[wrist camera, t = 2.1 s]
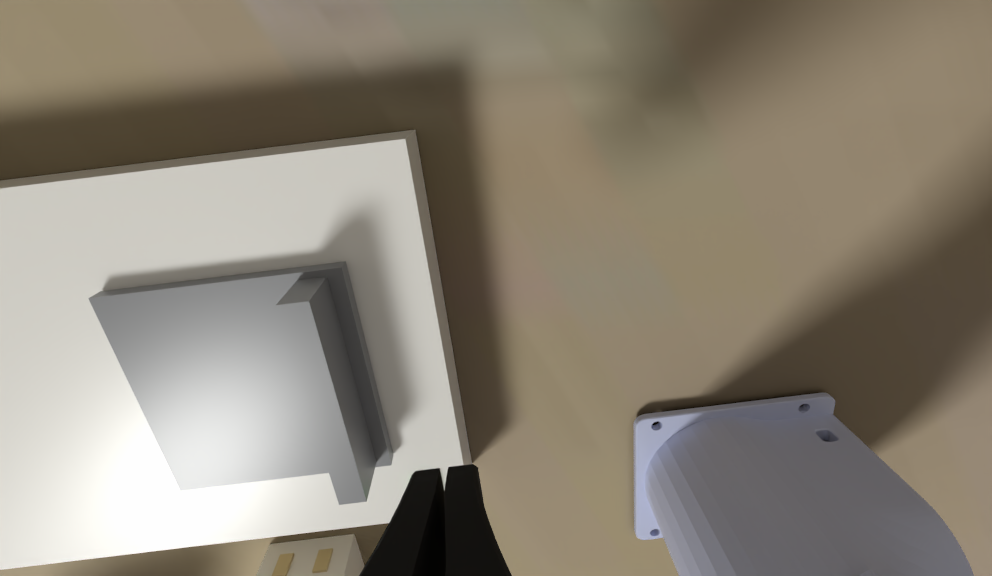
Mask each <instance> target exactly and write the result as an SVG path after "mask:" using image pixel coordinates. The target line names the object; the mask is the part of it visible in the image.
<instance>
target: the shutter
mask: <svg viewBox="0 0 992 576" xmlns="http://www.w3.org/2000/svg"><path fill="white" fill-rule="evenodd" d="M88 299H89V301H90V303H91V305H92V307H93V309H94V311H95V314H96V316H97V318H98V320H99V322H100V324H101V326H102V328H103V330H104V332H105V334H106V336H107V339H108V341H109V343H110V345H111V347H112V349H113V351H114V353H115V355H116V357H117V359H118V361H119V364H120V366H121V368H122V370H123V372H124V374H125V376H126V378H127V380H128V382H129V384H130V386H131V389H132V391H133V393H134V395H135V397H136V399H137V401H138V403H139V405H140V407H141V409H142V411H143V414H144V416H145V418H146V420H147V422H148V424H149V426H150V428H151V430H152V432H153V434H154V436H155V439H156V441H157V443H158V445H159V447H160V449H161V451H162V453H163V455H164V457H165V459H166V461H167V464H168V466H169V468H170V470H171V472H172V474H173V476H174V478H175V480H176V482H177V484H178V486H179V489H180V491H182V490H191V489H199V488H207V487H216V486H224V485H232V484H241V483H249V482H257V481H265V480H274V479H282V478H290V477H299V476H307V475H315V474H323V473H329V475H330V478H331V481H332V484H333V487H334V490H335V493H336V497H337V500H338V503H339V505H343V504H351V503H359V502H367V498H368V494H369V490H370V486H371V482H372V478H373V474H374V470H375V467H382V466H390V465H392V460H393V456H394V454H393V450H392V446H391V442H390V438H389V434H388V430H387V426H386V422H385V418H384V414H383V410H382V406H381V402H380V398H379V394H378V390H377V385H376V381H375V377H374V373H373V369H372V365H371V361H370V357H369V353H368V349H367V345H366V341H365V337H364V333H363V329H362V325H361V321H360V317H359V313H358V309H357V305H356V301H355V297H354V292H353V288H352V284H351V280H350V276H349V272H348V268H347V264H346V261H344V262H336V263H328V264H320V265H312V266H303V267H295V268H287V269H279V270H271V271H262V272H254V273H246V274H238V275H230V276H221V277H213V278H205V279H197V280H189V281H180V282H172V283H164V284H156V285H148V286H139V287H131V288H123V289H115V290H107V291H100V292H98V293H97V294H95V295H93V296H91V297H90V298H88Z"/></svg>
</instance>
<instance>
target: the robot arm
mask: <svg viewBox="0 0 992 576" xmlns="http://www.w3.org/2000/svg"><path fill="white" fill-rule="evenodd" d="M802 404H804V405H803V406H802V407H800V406H801V405H802ZM834 407H835V400H834V398H833V397H832V396H830V395H829V394H827V393H815V394H806V395H798V396H790V397H781V398H773V399H765V400H757V401H748V402H740V403H732V404H724V405H715V406H707V407H699V408H690V409H682V410H674V411H666V412H657V413H649V414H643V415H640V416H638V417H637V418H636V419H635V421H634V530H635V533H636V536H637V537H638V538H639V539H641V540H648V539H657V538H664V540H665V543H666V545H667V548H668V550H669V552H670V555H671V557H672V560H673V562H674V564H675V567H676V569H677V572H678V574H679V576H974V575H973V572H972V569H971V567H970V564H969V562H968V560H967V558H966V556H965V554H964V552H963V550H962V549H961V547H960V545H959V543H958V542H957V540H956V538H955V537H954V535H953V533H952V532H951V531H950V529H949V528H948V526H947V525H946V523H945V522H944V521H943V520H942V518H941V517H940V516H939V515H938V513H937V512H936V511H935V510H934V509H933V508H932V507H931V506H930V505H929V504H928V503H927V502H926V501H925V500H924V499H923V498H922V497H921V496H920V495H919V494H918V493H917V492H916V491H915V490H914V489H912V488H911V487H910V486H909V485H908V484H907V483H906V482H905V481H904V480H903V479H902V478H901V477H900V476H899V475H897V474H896V473H895V472H894V471H893V470H892V469H891V468H890V467H889V466H888V465H887V464H886V463H885V462H884V461H882V460H881V459H880V458H879V457H878V456H877V455H876V454H875V453H874V452H873V451H872V450H871V449H870V448H869V447H867V446H866V445H865V444H864V443H863V442H862V441H861V440H860V439H859V438H858V437H857V436H856V435H855V434H854V433H852V432H851V431H850V430H849V429H848V428H847V427H846V426H845V425H844V424H843V423H842V422H841V421H840V420H839V419H837V418H836V417H835V416H834V415H833V413H834ZM657 421H658V422H659V423H658V424H656V425H652V424H653V423H654V422H657ZM653 529H654V530H653ZM359 576H512V575H511V573H510V571H509V569H508V567H507V565H506V562H505V560H504V558H503V556H502V553H501V551H500V549H499V546H498V544H497V541H496V539H495V536H494V534H493V531H492V528H491V525H490V523H489V520H488V517H487V514H486V511H485V508H484V503H483V497H482V490H481V484H480V478H479V472H478V467H477V466H475V465H473V464H469V465H460V466H452V467H448V471H447V477H446V483H445V490H444V487H443V482H442V477H441V472H440V468H435V469H427V470H419V471H415V472H414V473H413V474H412V476H411V478H410V480H409V483H408V485H407V487H406V490H405V492H404V494H403V496H402V498H401V500H400V503H399V505H398V507H397V509H396V511H395V513H394V515H393V517H392V519H391V521H390V522H389V524H388V526H387V528H386V530H385V532H384V534H383V535H382V537H381V539H380V541H379V543H378V545H377V546H376V548H375V550H374V552H373V553H372V555H371V557H370V558H369V560H368V562H367V563H366V565H365V567H364V568H363V570H362V571H361V573H360V575H359Z"/></svg>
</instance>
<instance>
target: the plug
mask: <svg viewBox="0 0 992 576" xmlns="http://www.w3.org/2000/svg"><path fill="white" fill-rule="evenodd" d="M364 567H365V566H364V563H363V560H362V557H361V553H360V550H359V547H358V544H357V541H356V537H355V534H350V535H341V536H333V537H325V538H316V539H308V540H300V541H292V542H283V543H275V544H270V545H269V547H268V549H267V552H266V554H265V556H264V559H263V561H262V563H261V566H260V568H259V570H258V572H257V575H256V576H359V575H360V573H361V571H362V570H363V568H364Z"/></svg>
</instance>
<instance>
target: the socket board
mask: <svg viewBox="0 0 992 576" xmlns="http://www.w3.org/2000/svg"><path fill="white" fill-rule="evenodd" d="M344 261H346V264H347V268H348V272H349V276H350V280H351V284H352V288H353V292H354V297H355V301H356V305H357V309H358V313H359V317H360V321H361V325H362V329H363V333H364V337H365V341H366V345H367V349H368V353H369V357H370V361H371V365H372V369H373V373H374V377H375V381H376V385H377V390H378V394H379V398H380V402H381V406H382V410H383V414H384V418H385V422H386V426H387V430H388V434H389V438H390V442H391V446H392V450H393V454H394V456H393V460H392V465H390V466H382V467H375V470H374V474H373V478H372V482H371V486H370V490H369V494H368V498H367V502H359V503H351V504H343V505H339V503H338V500H337V497H336V493H335V490H334V487H333V484H332V481H331V478H330V475H329V473H323V474H315V475H307V476H299V477H290V478H282V479H274V480H265V481H257V482H249V483H241V484H232V485H224V486H216V487H207V488H199V489H191V490H182V491H180V489H179V486H178V484H177V482H176V480H175V478H174V476H173V474H172V472H171V470H170V468H169V466H168V464H167V461H166V459H165V457H164V455H163V453H162V451H161V449H160V447H159V445H158V443H157V441H156V439H155V436H154V434H153V432H152V430H151V428H150V426H149V424H148V422H147V420H146V418H145V416H144V414H143V411H142V409H141V407H140V405H139V403H138V401H137V399H136V397H135V395H134V393H133V391H132V389H131V386H130V384H129V382H128V380H127V378H126V376H125V374H124V372H123V370H122V368H121V366H120V364H119V361H118V359H117V357H116V355H115V353H114V351H113V349H112V347H111V345H110V343H109V341H108V339H107V336H106V334H105V332H104V330H103V328H102V326H101V324H100V322H99V320H98V318H97V316H96V314H95V311H94V309H93V307H92V305H91V303H90V301H89V299H88V298H90V297H91V296H93V295H95V294H97V293H98V292H100V291H107V290H115V289H123V288H131V287H139V286H148V285H156V284H164V283H172V282H180V281H189V280H197V279H205V278H213V277H221V276H230V275H238V274H246V273H254V272H262V271H271V270H279V269H287V268H295V267H303V266H312V265H320V264H328V263H336V262H344ZM469 464H472V460H471V455H470V449H469V443H468V437H467V431H466V425H465V419H464V413H463V407H462V402H461V396H460V390H459V384H458V378H457V372H456V366H455V360H454V354H453V348H452V343H451V337H450V331H449V325H448V319H447V313H446V307H445V301H444V295H443V289H442V284H441V278H440V272H439V266H438V260H437V254H436V248H435V242H434V236H433V231H432V225H431V219H430V213H429V207H428V201H427V195H426V189H425V183H424V177H423V172H422V166H421V160H420V154H419V148H418V142H417V136H416V130H408V131H400V132H392V133H383V134H375V135H367V136H359V137H351V138H343V139H335V140H326V141H318V142H310V143H302V144H294V145H286V146H278V147H269V148H261V149H253V150H245V151H237V152H229V153H221V154H212V155H204V156H196V157H188V158H180V159H172V160H164V161H155V162H147V163H139V164H131V165H123V166H115V167H107V168H98V169H90V170H82V171H74V172H66V173H58V174H50V175H41V176H33V177H25V178H17V179H9V180H1V181H0V569H1V570H2V569H11V568H19V567H27V566H35V565H44V564H52V563H60V562H69V561H77V560H85V559H94V558H102V557H110V556H119V555H127V554H135V553H144V552H152V551H160V550H169V549H177V548H185V547H194V546H202V545H210V544H219V543H227V542H235V541H243V540H252V539H260V538H268V537H277V536H285V535H293V534H302V533H310V532H318V531H327V530H335V529H343V528H352V527H360V526H368V525H377V524H385V523H389V522H390V521H391V519H392V517H393V515H394V513H395V511H396V509H397V507H398V505H399V503H400V500H401V498H402V496H403V494H404V492H405V490H406V487H407V485H408V483H409V480H410V478H411V476H412V474H413V473H414V472H415V471H419V470H427V469H435V468H440V472H441V477H442V482H443V487H444V490H445V483H446V477H447V471H448V467H452V466H460V465H469Z"/></svg>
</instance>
